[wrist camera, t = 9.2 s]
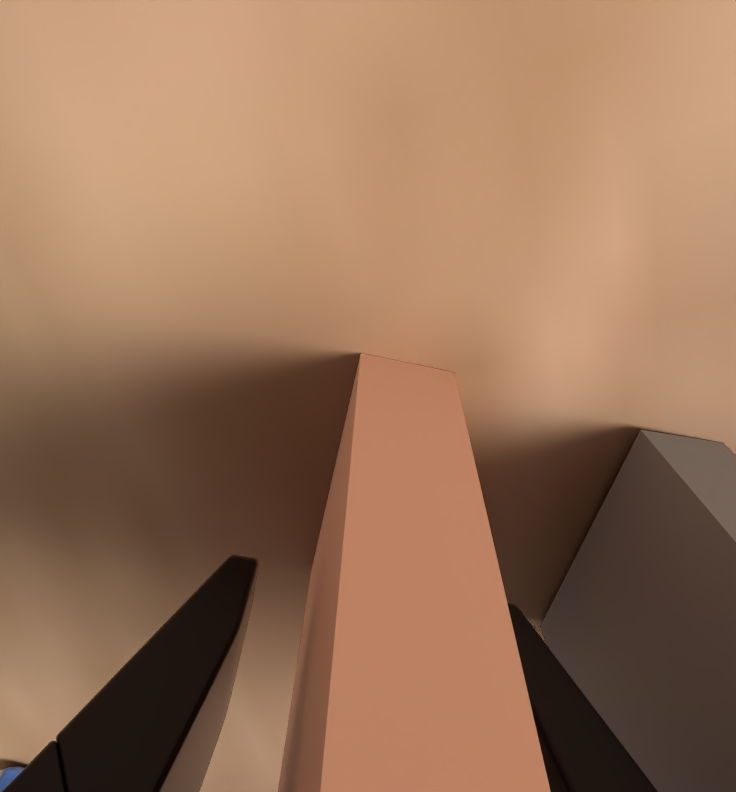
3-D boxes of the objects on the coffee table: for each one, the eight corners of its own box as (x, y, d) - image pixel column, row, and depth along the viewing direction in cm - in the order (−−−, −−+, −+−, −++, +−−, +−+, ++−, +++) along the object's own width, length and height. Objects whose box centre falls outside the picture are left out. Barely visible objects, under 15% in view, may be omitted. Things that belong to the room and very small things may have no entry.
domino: (387, 584, 12) (389, 1269, 5) (311, 570, 12) (207, 1253, 5) (454, 372, 10) (621, 1099, 3) (360, 353, 10) (296, 1063, 3)
